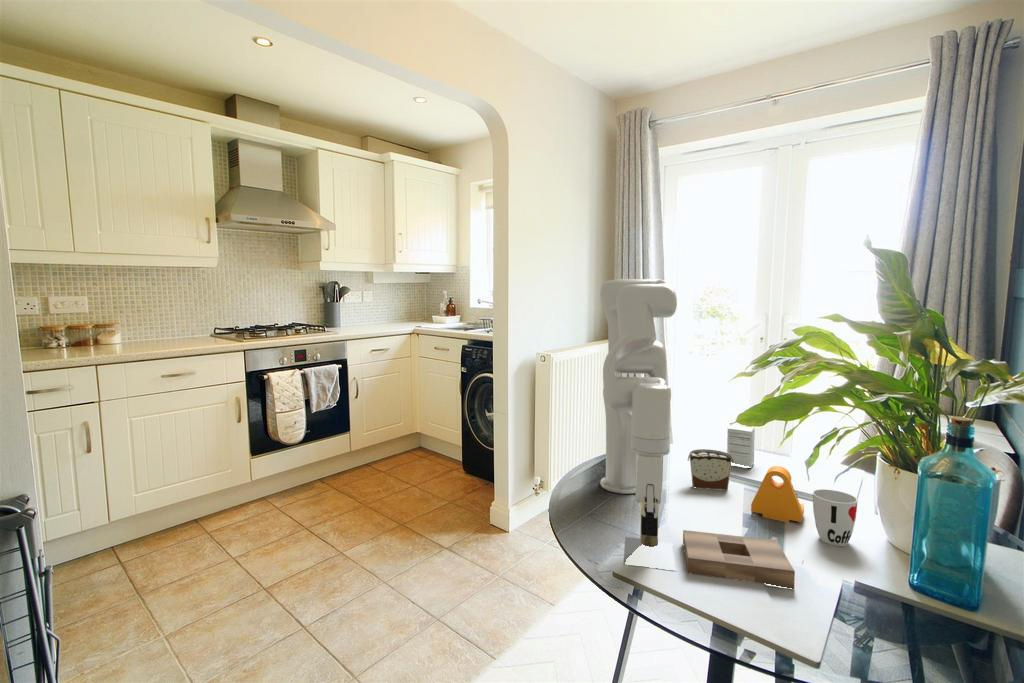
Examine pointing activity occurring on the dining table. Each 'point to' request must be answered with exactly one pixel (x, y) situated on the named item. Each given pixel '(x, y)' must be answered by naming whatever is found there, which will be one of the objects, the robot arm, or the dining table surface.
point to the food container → (710, 468)
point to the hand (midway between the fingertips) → (649, 529)
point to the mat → (631, 546)
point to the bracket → (777, 497)
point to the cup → (834, 515)
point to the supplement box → (741, 445)
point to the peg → (645, 539)
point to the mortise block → (737, 558)
